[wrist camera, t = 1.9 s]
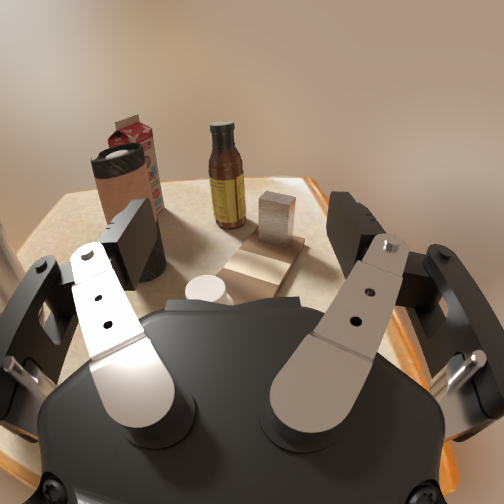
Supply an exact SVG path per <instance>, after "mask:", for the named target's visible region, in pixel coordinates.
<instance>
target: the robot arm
mask: <svg viewBox="0 0 504 504" xmlns="http://www.w3.org/2000/svg"><path fill="white" fill-rule="evenodd" d="M326 230H327V236H328V238H329V241H330V243H331V245H332V247H333V250H334V252H335V254H336V257H337V259H338V262H339V264H340V266H341V269H342V271H343V274H344V276H345V279H346V281H345V283H344V284H343V286H342V288H341V289H340V291H339V292H338V294H337V296H336V297H335V299H334V300H333V302H332V303H331V305H330V307H329V308H328V310H327V311H326V313H323V312H321V311H318V310H315V309H312V308H308V307H303V306H301V304H300V299H299V297H277V298H264V299H259V300H255V301H251V302H246V303H242V304H237V305H225V304H220V303H214V302H209V301H204V300H199V299H167V302H166V306H165V309H162V310H158V311H155V312H152V313H150V314H147V315H145V316H143V317H142V318H140V319H138V320H137V318H136V316H135V314H134V312H133V310H132V308H131V306H130V304H129V302H128V300H127V298H126V296H125V294H124V291H135V289H136V287H137V284H138V282H139V279H140V277H141V275H142V272H143V270H144V267H145V265H146V263H147V260H148V258H149V256H150V254H151V251H152V249H153V247H154V245H155V243H156V240H157V228H156V224H155V219H154V215H153V210H152V206H151V202H150V200H149V198H140V199H132V200H131V202H130V203H129V204H128V205H127V207H126V208H125V209H124V210H123V211H122V212H120V213H119V214H117V215H116V216H115V217H114V218H113V219H112V221H111V222H110V224H109V225H108V226H107V227H106V229H105V230H104V232H103V233H102V234H101V236H100V237H99V238H98V240H97V241H96V243H90V244H87V245H85V246H83V247H81V248H79V249H78V250H77V251H76V252H75V253H74V254H73V256H72V258H71V262H68V263H65V264H61V265H58V263H57V261H56V259H55V257H54V256H51V255H49V256H45V257H42V258H40V259H39V260H37V261H36V262H35V263H34V264H33V265H32V266H31V267H30V269H29V270H28V272H27V273H25V271H24V269H23V267H22V265H21V263H20V262H19V260H18V258H17V256H16V254H15V252H14V250H13V248H12V246H11V244H10V242H9V240H8V237H7V235H6V233H5V231H4V228H3V226H2V224H1V221H0V425H1V426H3V427H4V428H6V429H7V430H9V431H10V432H12V433H14V434H16V435H18V436H20V437H22V438H23V439H25V440H27V441H29V442H31V443H36V442H39V445H40V452H41V462H42V476H41V481H40V484H39V487H38V488H37V490H36V491H35V493H34V494H33V495H32V496H31V497H30V498H29V499H28V500H27V501H26V502H24V503H23V504H447V503H446V501H445V499H444V497H443V495H442V492H441V489H440V486H439V467H440V458H441V452H442V447H443V443H445V442H448V441H450V440H453V441H456V442H463V441H465V440H467V439H469V438H471V437H472V436H474V435H476V434H477V433H479V432H480V431H482V430H483V429H485V428H487V427H488V426H490V425H491V424H493V423H494V422H496V421H497V420H499V419H500V418H501V417H503V416H504V330H503V328H502V326H501V324H500V322H499V320H498V319H497V317H496V315H495V313H494V312H493V310H492V308H491V306H490V305H489V303H488V301H487V300H486V298H485V297H484V295H483V293H482V292H481V290H480V289H479V287H478V286H477V284H476V283H475V281H474V279H473V278H472V277H471V275H470V274H469V272H468V271H467V270H466V268H465V267H464V265H463V264H462V262H461V261H460V260H459V258H458V257H457V256H456V254H455V253H454V252H453V251H451V250H450V249H448V248H447V247H445V246H442V245H438V244H433V245H430V246H429V247H428V250H427V252H426V255H424V254H420V253H415V252H410V251H409V246H408V245H407V243H406V242H405V241H404V240H402V239H401V238H399V237H397V236H395V235H391V234H387V233H386V232H385V231H384V229H383V228H382V226H381V225H380V224H379V222H378V221H376V218H375V217H374V216H372V213H371V212H370V211H369V209H368V208H366V207H365V206H364V205H362V204H360V203H357V202H356V201H355V200H354V199H353V197H352V196H351V195H350V193H349V192H331V194H330V200H329V208H328V215H327V223H326ZM442 296H443V298H444V299H445V301H446V303H447V306H448V314H447V317H445V315H444V313H443V311H442V309H441V307H440V305H439V304H438V303H439V301H440V300H441V297H442ZM44 301H45V303H46V304H47V306H48V307H49V309H50V310H51V313H50V315H49V317H48V319H47V321H46V323H45V326H44V328H42V327H41V325H40V323H39V320H38V317H39V315H40V313H41V311H42V305H43V303H44ZM394 305H397V306H403V307H406V310H407V313H408V315H409V317H410V320H411V322H412V325H413V327H414V330H415V332H416V335H417V337H418V340H419V343H420V345H421V348H422V351H423V353H424V356H425V359H426V362H427V365H428V368H429V371H430V374H431V377H432V381H431V383H430V387H429V392H430V393H429V392H428V391H427V390H426V389H424V388H423V387H422V386H421V385H419V384H418V383H417V382H415V381H414V380H413V379H411V378H410V377H409V376H408V375H406V374H405V373H404V372H402V371H401V370H400V369H398V368H397V367H396V366H395V365H393V364H392V363H391V362H389V361H388V360H387V359H386V358H384V357H383V356H382V355H380V354H379V353H378V352H377V350H378V348H379V345H380V343H381V340H382V338H383V335H384V333H385V330H386V328H387V325H388V322H389V319H390V317H391V314H392V311H393V308H394ZM78 322H80V325H81V329H82V333H83V336H84V340H85V343H86V347H87V350H88V353H89V356H90V360H88V361H87V362H86V363H85V364H84V365H82V366H81V367H80V368H79V369H78V370H77V371H75V372H74V373H73V374H72V375H71V376H69V377H68V378H67V379H66V380H65V381H64V382H63V383H61V384H60V385H59V386H58V387H57V388H56V386H57V382H58V379H59V376H60V372H61V369H62V366H63V363H64V360H65V357H66V354H67V351H68V348H69V346H70V343H71V340H72V337H73V335H74V332H75V330H76V327H77V325H78Z"/></svg>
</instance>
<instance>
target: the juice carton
mask: <svg viewBox="0 0 504 504" xmlns="http://www.w3.org/2000/svg"><path fill="white" fill-rule="evenodd" d="M115 124H116V131H115V132H114V133H113V134H112V135H111V136H110V137H109V139H108V144H109V148H111V147H115V146H118V145H122V144H128V143H141V144H142V145H143V148H144V154H145V160H146V166H147V171H148V176H149V181H150V186H151V191H152V196H153V201H154V205H155V210H156V214H158V213H159V212H160V211H161V210H162V209H164V202H163V197H162V191H161V185H160V180H159V174H158V167H157V161H156V154H155V148H154V141H153V134H152V128H150V127H149V126H147V125H145V124H143V123H140V122H139V116H138V115H135V116H132V117H129V118H126V119H124V120H121V121H118V122H115Z"/></svg>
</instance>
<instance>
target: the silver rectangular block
mask: <svg viewBox="0 0 504 504" xmlns="http://www.w3.org/2000/svg"><path fill="white" fill-rule="evenodd" d="M295 200H296V197H293V196H289V195H284V194H279V193H274V192H269V191H266V192H265V193H264V194H263V195H262V196H261V197H260V198H259V241H261V242H265V243H269V244H273V245H276V246H280V247H284V248H287V246H288V245H289V243H290V242H291V240H292V236H293V225H294V213H295Z"/></svg>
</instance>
